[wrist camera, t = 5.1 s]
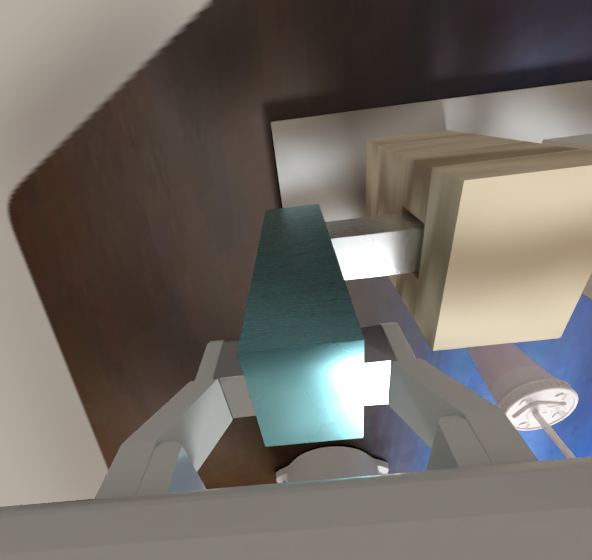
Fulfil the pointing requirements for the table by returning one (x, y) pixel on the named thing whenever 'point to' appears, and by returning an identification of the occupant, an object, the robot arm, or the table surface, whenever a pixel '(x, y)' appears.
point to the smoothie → (524, 389)
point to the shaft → (315, 318)
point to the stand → (463, 202)
